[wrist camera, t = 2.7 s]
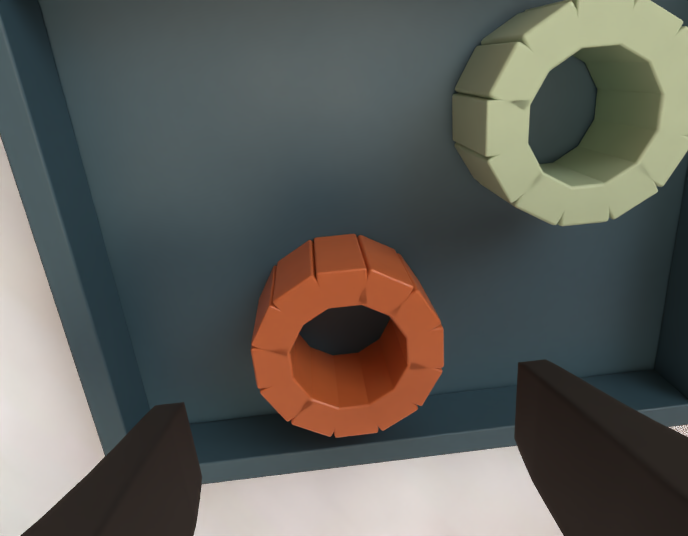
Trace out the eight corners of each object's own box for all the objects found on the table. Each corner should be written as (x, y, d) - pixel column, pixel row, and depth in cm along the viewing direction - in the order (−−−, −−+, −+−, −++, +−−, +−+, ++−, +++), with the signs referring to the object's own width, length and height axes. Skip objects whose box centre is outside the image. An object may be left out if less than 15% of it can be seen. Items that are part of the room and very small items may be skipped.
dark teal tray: (748, -110, 13) (845, -147, 11) (662, 377, 18) (714, 422, 16) (0, -50, 12) (-71, -77, 10) (141, 439, 18) (117, 495, 15)
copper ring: (419, 225, 15) (443, 259, 13) (423, 370, 17) (445, 425, 14) (248, 243, 15) (237, 281, 12) (272, 388, 17) (267, 447, 14)
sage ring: (641, -1, 13) (723, -16, 11) (619, 189, 15) (684, 214, 13) (451, 16, 13) (488, 4, 11) (452, 206, 15) (483, 236, 12)
